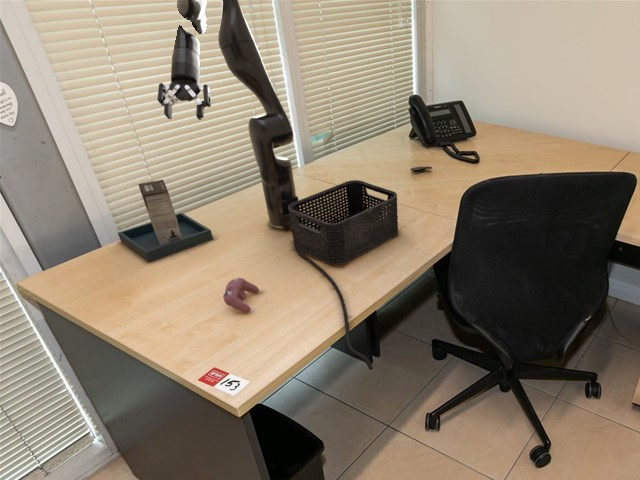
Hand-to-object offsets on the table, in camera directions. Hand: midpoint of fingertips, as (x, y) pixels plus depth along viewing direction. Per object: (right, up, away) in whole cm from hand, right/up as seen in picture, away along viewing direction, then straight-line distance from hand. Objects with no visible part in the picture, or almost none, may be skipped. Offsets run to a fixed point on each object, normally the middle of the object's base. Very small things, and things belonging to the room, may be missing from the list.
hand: (183, 118), depth 154 cm
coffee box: (-2, -37, -3) cm, 37 cm away
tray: (-3, -37, -3) cm, 37 cm away
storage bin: (+49, -37, +2) cm, 61 cm away
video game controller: (+29, -56, -26) cm, 68 cm away
